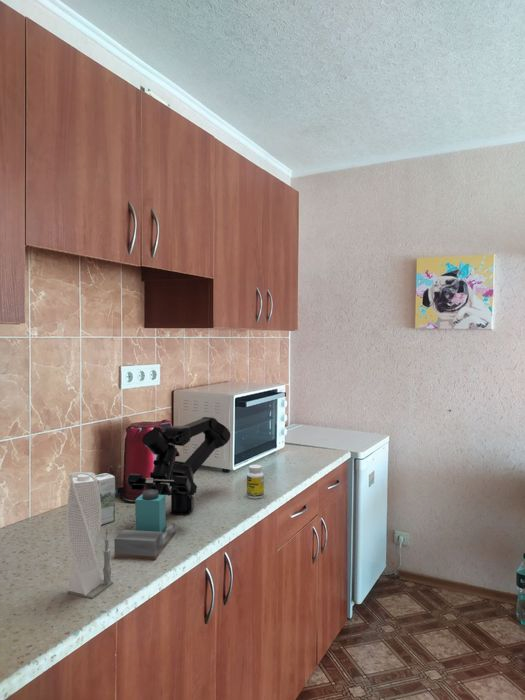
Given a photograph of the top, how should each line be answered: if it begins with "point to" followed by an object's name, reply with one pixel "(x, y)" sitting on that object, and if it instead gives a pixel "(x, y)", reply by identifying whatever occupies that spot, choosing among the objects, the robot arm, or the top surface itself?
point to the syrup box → (106, 497)
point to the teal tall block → (150, 511)
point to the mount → (142, 543)
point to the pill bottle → (255, 482)
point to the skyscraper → (86, 536)
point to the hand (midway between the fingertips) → (151, 509)
